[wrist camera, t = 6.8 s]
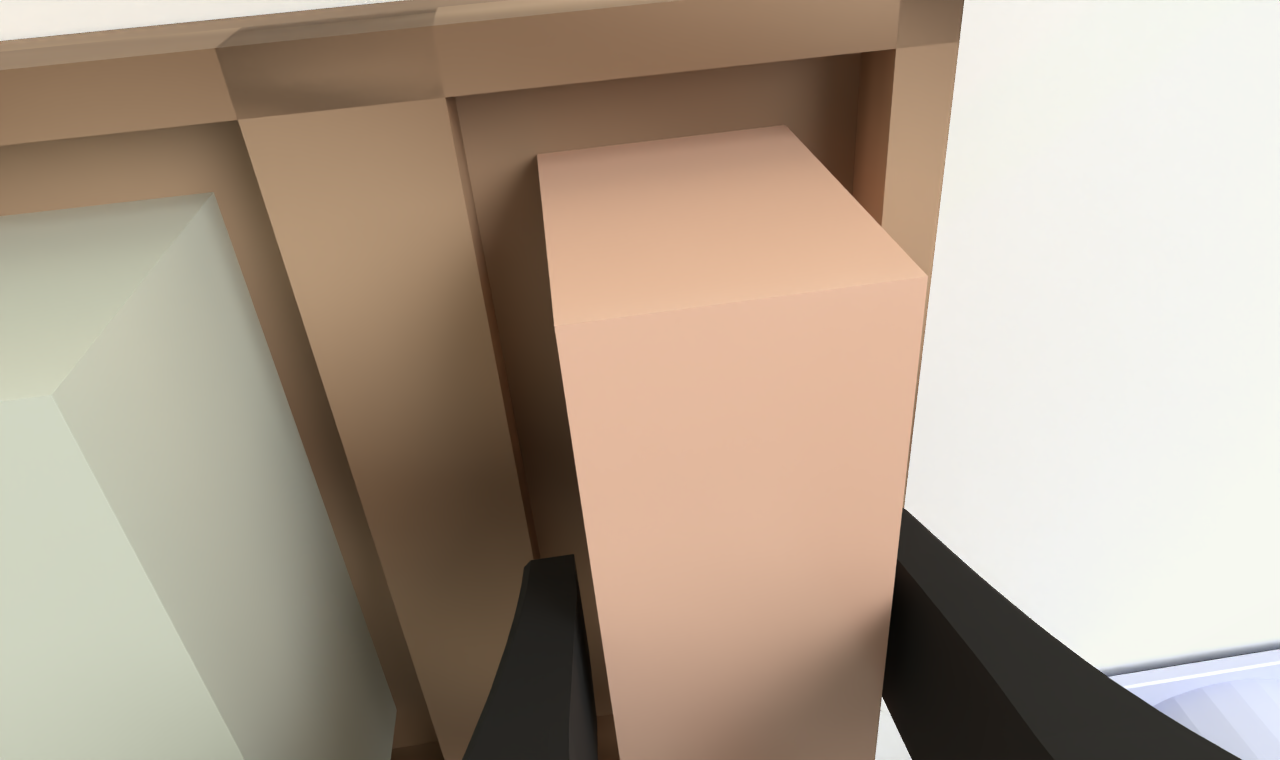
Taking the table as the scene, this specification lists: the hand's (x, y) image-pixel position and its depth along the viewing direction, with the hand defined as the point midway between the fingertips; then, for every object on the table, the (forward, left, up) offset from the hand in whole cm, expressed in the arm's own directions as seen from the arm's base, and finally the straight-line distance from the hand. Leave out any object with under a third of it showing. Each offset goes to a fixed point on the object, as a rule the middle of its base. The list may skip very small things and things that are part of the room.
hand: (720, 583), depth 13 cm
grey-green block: (0, +8, -3) cm, 8 cm away
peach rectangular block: (0, 0, -3) cm, 3 cm away
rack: (0, +4, -4) cm, 6 cm away
